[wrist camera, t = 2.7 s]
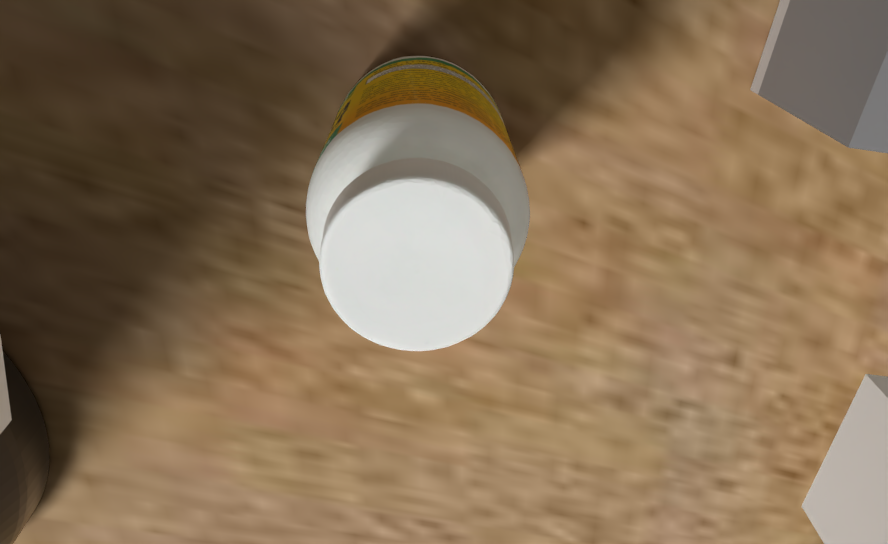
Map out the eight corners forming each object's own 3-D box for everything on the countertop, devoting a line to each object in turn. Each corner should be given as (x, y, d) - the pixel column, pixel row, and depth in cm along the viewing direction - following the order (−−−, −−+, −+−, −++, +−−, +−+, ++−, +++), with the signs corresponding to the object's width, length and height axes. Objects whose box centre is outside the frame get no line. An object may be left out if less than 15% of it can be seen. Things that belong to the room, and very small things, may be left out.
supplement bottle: (500, 215, 25) (540, 381, 16) (340, 216, 25) (296, 384, 16) (506, 50, 23) (557, 144, 14) (329, 51, 22) (270, 145, 14)
